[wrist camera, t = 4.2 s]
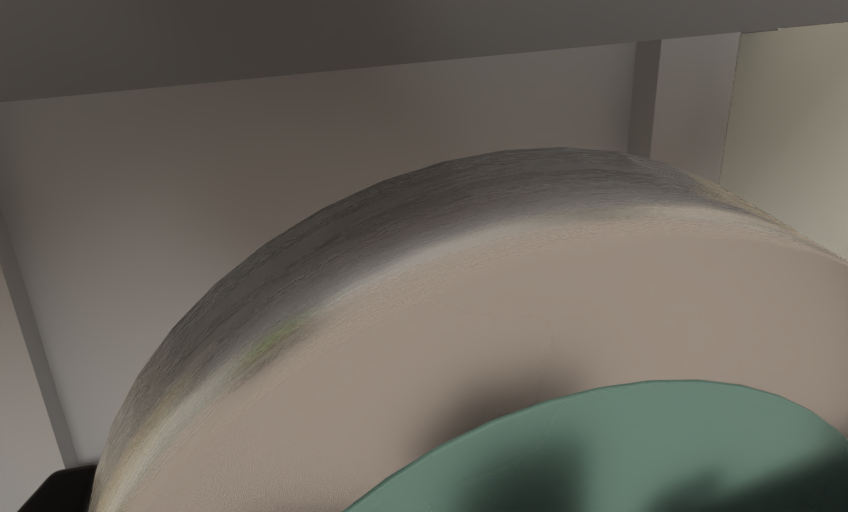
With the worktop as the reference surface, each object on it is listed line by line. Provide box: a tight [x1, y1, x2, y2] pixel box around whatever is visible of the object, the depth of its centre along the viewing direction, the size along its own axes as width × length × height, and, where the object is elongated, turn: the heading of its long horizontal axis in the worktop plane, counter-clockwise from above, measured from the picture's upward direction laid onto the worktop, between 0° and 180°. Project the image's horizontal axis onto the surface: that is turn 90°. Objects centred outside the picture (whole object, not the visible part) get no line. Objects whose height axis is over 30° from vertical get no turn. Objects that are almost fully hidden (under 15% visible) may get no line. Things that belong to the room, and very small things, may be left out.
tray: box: [0, 32, 741, 512], centre depth 13 cm, size 18×13×4 cm
